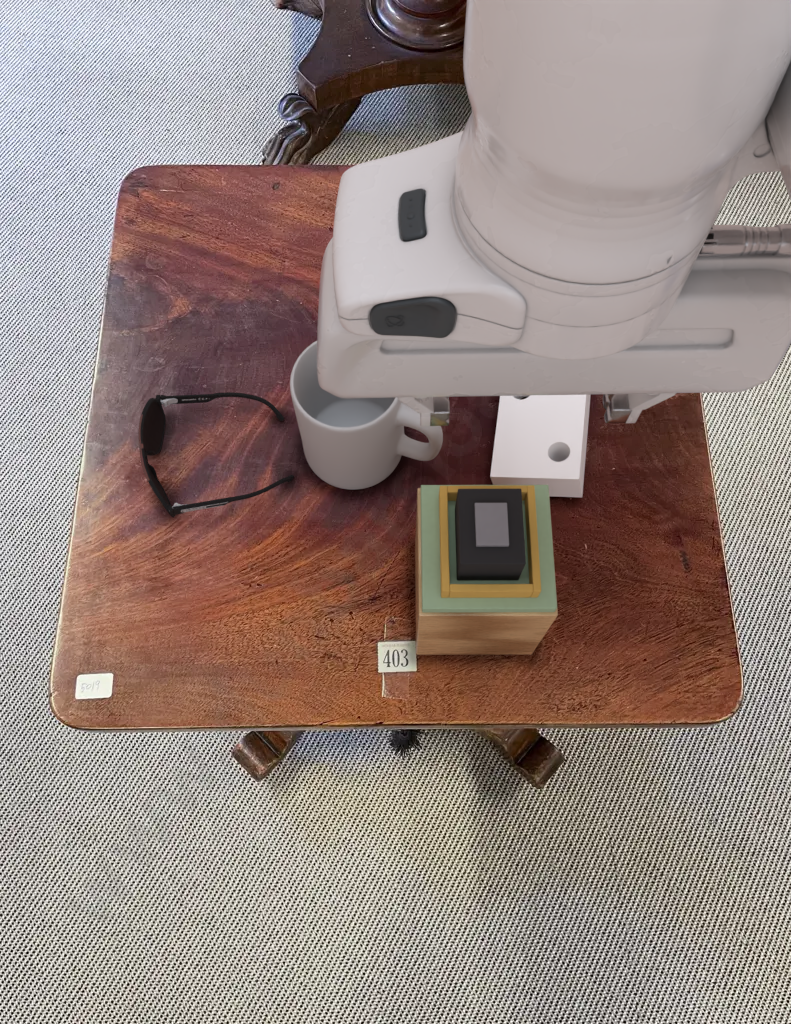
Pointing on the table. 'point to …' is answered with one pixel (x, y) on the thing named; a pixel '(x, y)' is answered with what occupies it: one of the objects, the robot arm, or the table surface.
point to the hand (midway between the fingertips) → (525, 412)
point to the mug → (354, 431)
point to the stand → (474, 623)
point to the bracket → (542, 442)
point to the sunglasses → (153, 439)
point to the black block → (489, 534)
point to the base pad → (485, 595)
